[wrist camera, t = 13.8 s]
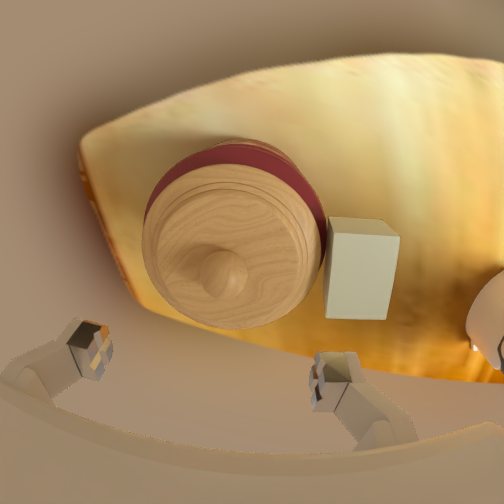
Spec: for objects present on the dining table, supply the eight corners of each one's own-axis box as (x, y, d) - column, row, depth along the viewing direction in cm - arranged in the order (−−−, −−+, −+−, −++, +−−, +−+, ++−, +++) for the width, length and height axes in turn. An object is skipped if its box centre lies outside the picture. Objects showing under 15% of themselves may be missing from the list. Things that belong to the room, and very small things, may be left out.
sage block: (334, 232, 16) (328, 216, 20) (325, 318, 18) (322, 287, 22) (400, 236, 15) (381, 219, 19) (385, 319, 17) (372, 289, 21)
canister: (191, 255, 34) (137, 366, 18) (178, 143, 28) (83, 172, 12) (304, 253, 33) (333, 370, 17) (304, 136, 28) (358, 154, 12)
